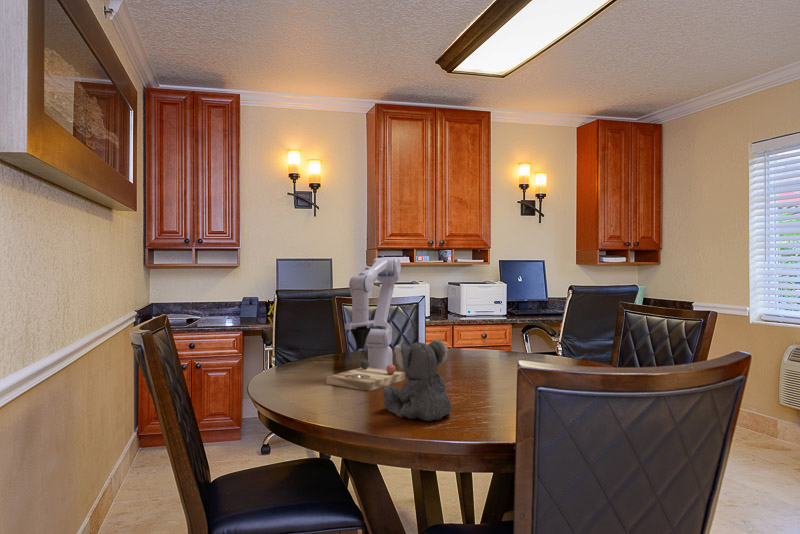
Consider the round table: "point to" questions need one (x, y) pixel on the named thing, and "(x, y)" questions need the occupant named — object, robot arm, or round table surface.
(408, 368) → the koala plush
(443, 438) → the round table surface
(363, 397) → the round table surface
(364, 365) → the black rubber ball
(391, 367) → the brick-red wooden ball
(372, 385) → the plate
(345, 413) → the round table surface
